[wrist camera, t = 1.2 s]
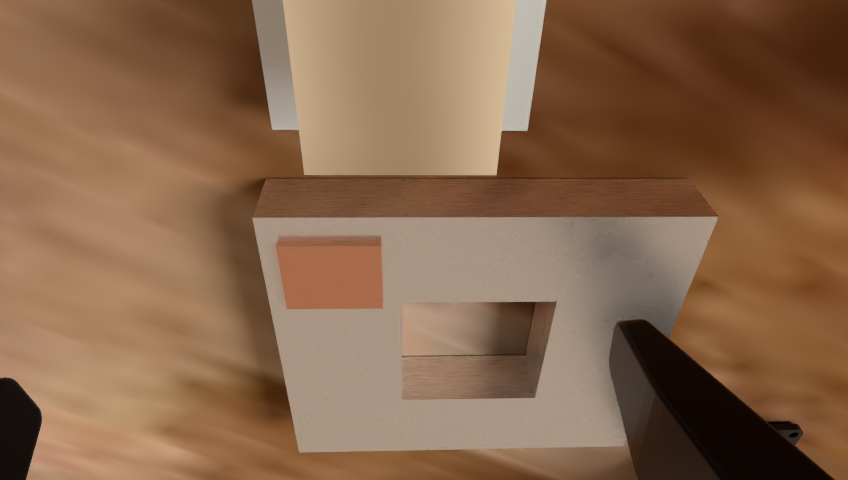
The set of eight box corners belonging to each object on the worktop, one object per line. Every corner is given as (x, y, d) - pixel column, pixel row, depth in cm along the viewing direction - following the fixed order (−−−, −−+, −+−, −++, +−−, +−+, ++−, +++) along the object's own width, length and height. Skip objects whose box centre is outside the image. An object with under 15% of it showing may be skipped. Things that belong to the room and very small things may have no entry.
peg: (479, -88, 14) (520, -32, 9) (468, 68, 17) (496, 174, 12) (318, -91, 14) (278, -35, 9) (331, 67, 16) (304, 174, 12)
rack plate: (689, 178, 22) (722, 221, 19) (608, 404, 30) (625, 451, 28) (266, 178, 21) (250, 223, 19) (305, 408, 30) (298, 458, 27)
